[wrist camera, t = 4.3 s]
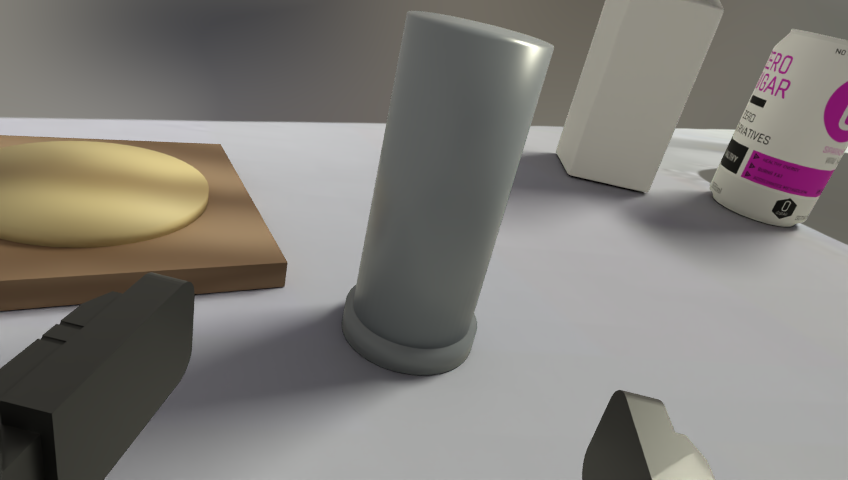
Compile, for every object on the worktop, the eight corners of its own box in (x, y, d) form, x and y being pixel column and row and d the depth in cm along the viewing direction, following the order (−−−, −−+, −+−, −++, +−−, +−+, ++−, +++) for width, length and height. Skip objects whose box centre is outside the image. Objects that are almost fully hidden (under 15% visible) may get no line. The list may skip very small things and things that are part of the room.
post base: (284, 286, 24) (289, 250, 24) (-170, 325, 17) (-185, 275, 17) (219, 162, 35) (221, 134, 34) (-81, 155, 28) (-88, 119, 27)
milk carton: (567, 177, 48) (654, -73, 40) (554, 152, 55) (627, -67, 47) (648, 195, 49) (750, -49, 40) (625, 168, 55) (710, -47, 47)
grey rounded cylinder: (496, 362, 23) (598, 59, 18) (374, 386, 20) (453, 36, 15) (431, 288, 27) (499, 23, 22) (323, 300, 24) (370, 0, 19)
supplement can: (820, 230, 51) (920, 58, 44) (761, 229, 47) (860, 42, 40) (744, 192, 57) (822, 37, 50) (687, 189, 53) (762, 21, 47)
